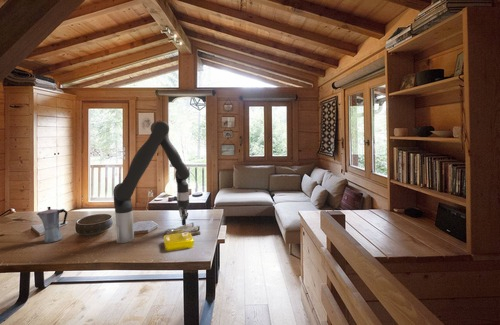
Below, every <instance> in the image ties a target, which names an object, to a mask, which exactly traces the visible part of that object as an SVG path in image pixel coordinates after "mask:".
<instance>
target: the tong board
mask: <svg viewBox="0 0 500 325" xmlns="http://www.w3.org/2000/svg"><path fill="white" fill-rule="evenodd" d="M189 233H191V236H192V237H193V236H199V235H201V231H200V230H198V231H192V232H189ZM165 235H169V230H165Z"/></svg>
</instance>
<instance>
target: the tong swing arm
mask: <svg viewBox="0 0 500 325" xmlns="http://www.w3.org/2000/svg"><path fill="white" fill-rule="evenodd" d="M194 225H195V224H194V222H190V223H186V225H181V226H178V227H175V228H173V230H178V229H184V228H189V227H195V226H194Z"/></svg>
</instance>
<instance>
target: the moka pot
mask: <svg viewBox="0 0 500 325" xmlns="http://www.w3.org/2000/svg"><path fill="white" fill-rule="evenodd" d="M61 213H64V217H63V222H62V223H60V214H61ZM36 215H37V216H38V217H39V219H40V220H41V222H42V226H43V229H44V231H43V232H44V234H43V235H44V239H43V240H44V243H45V244H46V243H54V242H58V241H61V240H62V239H63V235H62V231H61V229H60V225H61V226H64V225H65V224H66V221H67V218H68V211H67V210H65V208H61V209H51V206H47V208H46V210H43V211H39V212H38V213H36Z"/></svg>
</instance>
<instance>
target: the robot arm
mask: <svg viewBox="0 0 500 325" xmlns="http://www.w3.org/2000/svg"><path fill="white" fill-rule="evenodd" d="M169 131H170V127H169V124H168V123H167V122H166V121H163V120H158V121H153V122H152V124H151V126H150V132H151V133H150V135H149V137H148V139H147V140H146V141H145V142H144V143H143V144H142V146H141V147H139V149H138V150H137V151H136V153H135V155H134V157H133V158H132V160H131V161H130V164H129V168H128V171H127V173H126V176H125V177H124V179H123V180H122V182H120V183H118V184H116V185H115V186H114V188H113V192H112V193H113V207H114V214H115V238H116V239H115V240H116V244H125V243H130V242H133V241H134V240H135V232H134V231H135V230H134V229H135V228H134V211H133V208H134V207H133V204H132V203H133V202H132V196H133V194H134V192H135V190H136V188H137V185H138V183H139V181H140V180H141V178H142V177H143V175H144V173H145V172H146V170H147V169H148V167H149V165H150V163H151V162H152V160H153V158H154V156H155V155H156V153H157V150H158V148H159V147H160V146H161V148H162V149H163V151H164V153H165V155H166V157H167V159H168V161H169V163H170V165H171V166H172V167H173V169H175V174H174V176H175V183H176V185H177V186H176V188H177V189H176V190H177V191H176V192H177V193H176V203H177V207H178V208H179V209H178V211H179V216H180V219H181V226H184V225H187V221H186V220H187V219H188V216H189V212H188V207H189V206H190V193H189V184H188V181H187V180H188V179H189V178H190V171H189V168H188V167H187V166H186V164H185V163H184V162H183V159H182V158H181V156H180V154H179V152H178V150H177V148H176V147H175V146H174V145H173V144H172V142H171V140H170V139H169V136H168V133H169Z"/></svg>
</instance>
